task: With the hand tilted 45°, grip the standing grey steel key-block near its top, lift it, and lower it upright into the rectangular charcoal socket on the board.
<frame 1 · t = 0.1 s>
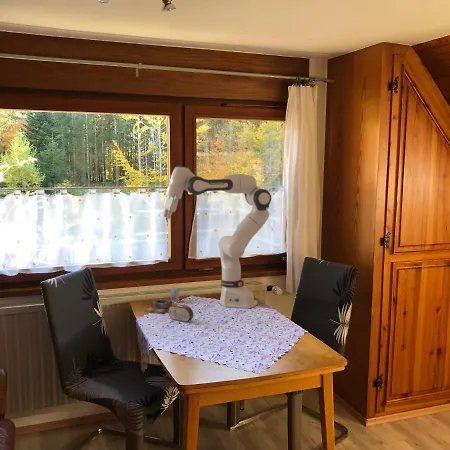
hand: (166, 217, 272), 52 cm above the table, tool tilted 20°, fingers open, 8 cm apart
socket board: (161, 308, 278), on the table
key block: (174, 301, 292), on the table
tin: (180, 320, 258), on the table
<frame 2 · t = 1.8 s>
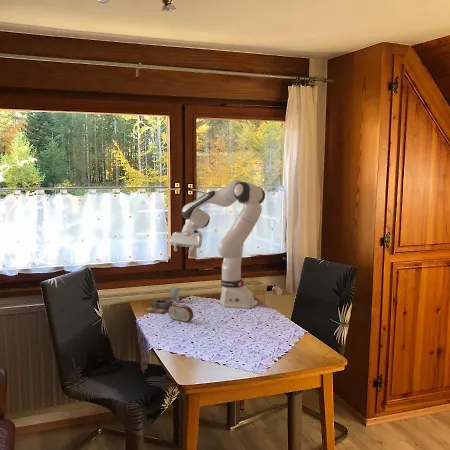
hand: (182, 251, 298), 28 cm above the table, tool tilted 45°, fingers open, 8 cm apart
nothing on the table moved.
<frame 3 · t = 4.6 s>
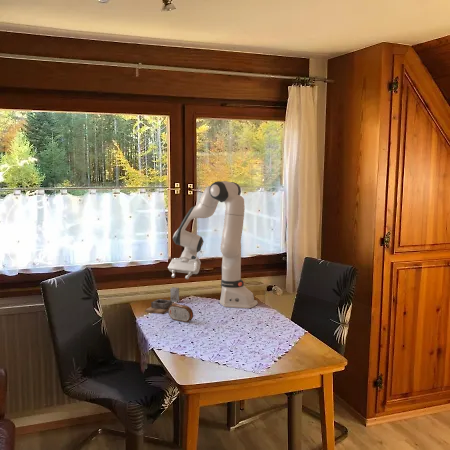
hand: (179, 277, 296), 13 cm above the table, tool tilted 45°, fingers open, 8 cm apart
nothing on the table moved.
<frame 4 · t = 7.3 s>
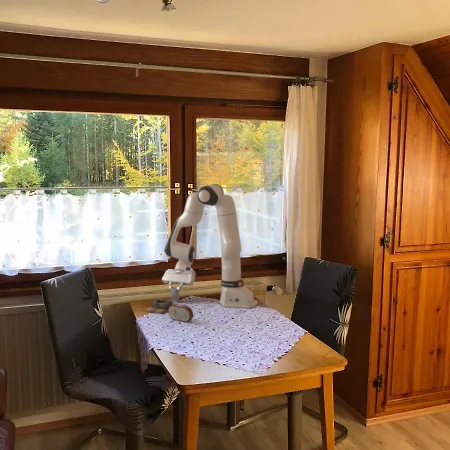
hand: (174, 289, 290), 7 cm above the table, tool tilted 45°, fingers closed on key block, 4 cm apart
key block: (174, 301, 292), on the table, touching gripper
everything else where it was.
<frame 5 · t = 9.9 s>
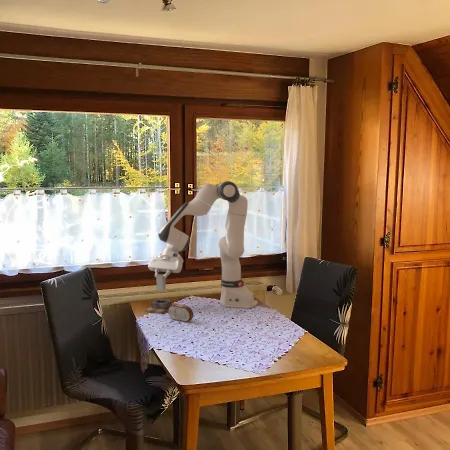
hand: (160, 277, 275), 18 cm above the table, tool tilted 45°, fingers closed on key block, 4 cm apart
key block: (161, 289, 277), point 11 cm above the table, touching gripper
everything else where it was.
when the fingers open (10 cm above the table, at t = 12.6 s): key block drops 1 cm, resting on socket board.
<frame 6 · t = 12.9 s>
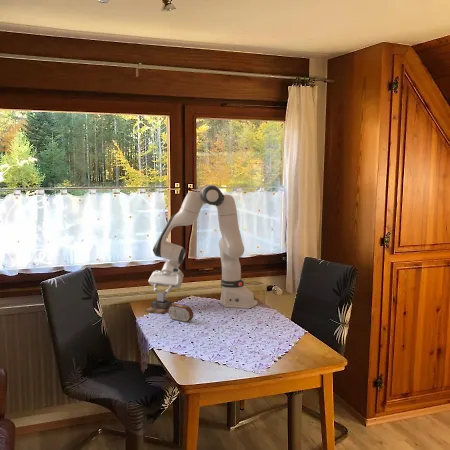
hand: (160, 292, 276), 10 cm above the table, tool tilted 45°, fingers open, 6 cm apart
key block: (161, 306, 278), point 1 cm above the table, touching socket board
everything else where it was.
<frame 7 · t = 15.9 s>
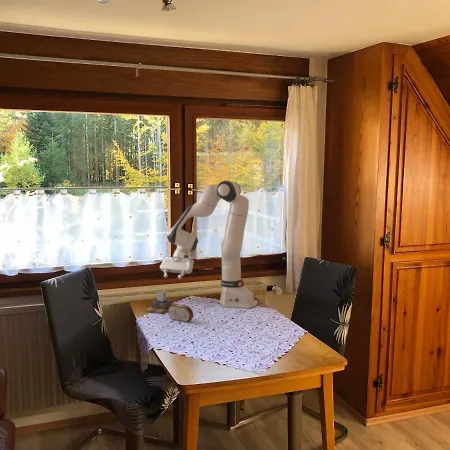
hand: (172, 277, 287), 15 cm above the table, tool tilted 45°, fingers open, 8 cm apart
nothing on the table moved.
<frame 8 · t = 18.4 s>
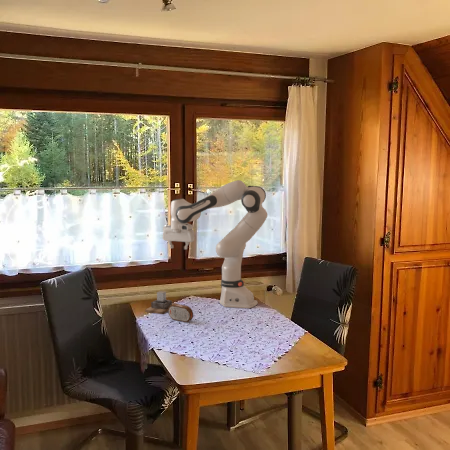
hand: (178, 248, 293), 31 cm above the table, tool pointing down, fingers open, 8 cm apart
nothing on the table moved.
at the end: key block 0.1 cm off-centre on the socket board, point 1.2 cm above the socket board's base; key block tilted 0°; the gripper is holding nothing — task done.
